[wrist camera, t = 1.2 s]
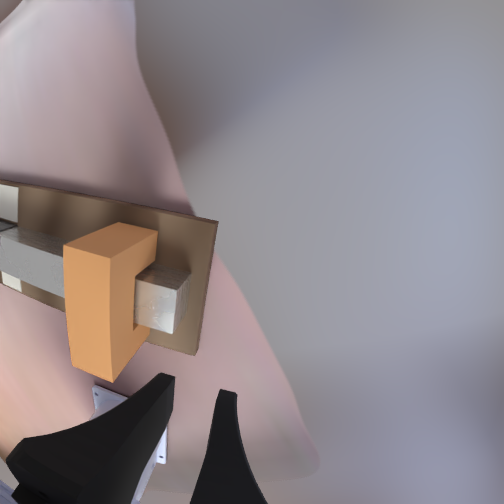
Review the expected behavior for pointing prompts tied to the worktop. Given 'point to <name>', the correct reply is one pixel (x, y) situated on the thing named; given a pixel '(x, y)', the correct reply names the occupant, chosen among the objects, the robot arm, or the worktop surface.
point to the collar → (105, 296)
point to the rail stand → (95, 218)
